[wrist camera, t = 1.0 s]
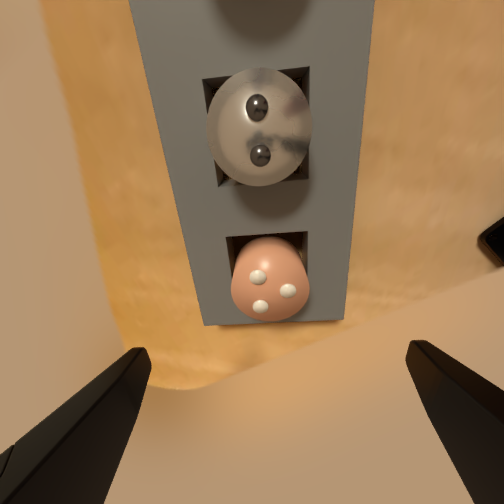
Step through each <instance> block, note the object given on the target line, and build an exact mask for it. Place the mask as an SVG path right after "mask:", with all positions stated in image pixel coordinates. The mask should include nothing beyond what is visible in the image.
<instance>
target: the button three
mask: <svg viewBox="0 0 504 504" xmlns="http://www.w3.org/2000/svg"><path fill="white" fill-rule="evenodd" d="M309 290H310V288H309V281H308V278H307V275H306V272H305V268H304V265H303V262H302V259H301V256H300V254H299V252H298V250H297V249H296V248H295V246H294V245H293V244H291V243H290V242H289V241H287V240H285V239H283V238H280V237H276V236H263V237H258V238H256V239H253V240H251V241H249V242H248V243H247V244H245V245H244V246H243V247H242V249H241V250H240V252H239V253H238V256H237V259H236V263H235V268H234V273H233V278H232V283H231V295H232V298H233V301H234V303H235V304H236V306H237V307H238V308H239V309H240V310H241V311H242V312H243V313H244V314H246V315H247V316H249V317H251V318H254V319H257V320H261V321H279V320H283V319H286V318H289V317H291V316H292V315H294V314H296V313H297V312H298V311H299V310H300V309H301V308H302V307H303V306H304V305H305V303H306V301H307V299H308V296H309Z"/></svg>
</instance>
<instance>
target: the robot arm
mask: <svg viewBox="0 0 504 504" xmlns="http://www.w3.org/2000/svg"><path fill="white" fill-rule="evenodd" d="M491 235H492V236H491ZM490 236H491V237H490ZM480 239H481V241H482V242H483V243H484V244H485V245H486V246H487V247H488V249H489V250H490V251H491V252H492V253H493V254H494V256H495V257H496V258H497V259H498V260H499V261H500V262H501V264H502V265H503V266H504V217H503V218H502V219H500V220H499V221H497V222H496V223H495V224H493V225H492V226H491V227H489V228H488V229H486V230H485V231H484V232H483V233H482V234H481V237H480ZM406 364H407V367H408V370H409V372H410V374H411V377H412V379H413V382H414V384H415V386H416V389H417V391H418V394H419V396H420V398H421V401H422V403H423V406H424V408H425V410H426V412H427V415H428V417H429V418H430V421H431V423H432V425H433V426H434V428H435V430H436V432H437V434H438V436H439V438H440V440H441V442H442V443H443V445H444V447H445V449H446V451H447V453H448V455H449V456H450V458H451V460H452V462H453V464H454V466H455V468H456V470H457V472H458V473H459V476H460V477H461V479H462V481H463V483H464V485H465V487H466V488H467V491H468V492H469V494H470V496H471V498H472V500H473V502H474V504H504V391H503V390H501V389H500V388H499V387H497V386H496V385H494V384H492V383H491V382H489V381H488V380H486V379H485V378H483V377H482V376H480V375H479V374H477V373H476V372H474V371H472V370H471V369H469V368H468V367H466V366H464V365H463V364H462V363H460V362H458V361H457V360H455V359H454V358H452V357H451V356H449V355H448V354H446V353H445V352H443V351H442V350H440V349H439V348H437V347H435V346H434V345H432V344H431V343H429V342H428V341H426V340H412V341H411V342H410V344H409V347H408V351H407V355H406ZM150 372H151V361H150V358H149V356H148V353H147V350H146V349H145V348H144V347H134V348H132V349H130V350H129V351H128V352H127V353H125V354H124V355H123V356H122V357H120V358H119V359H118V360H117V361H115V362H114V363H113V364H112V365H110V366H109V367H108V368H107V369H106V370H104V371H103V372H102V373H101V374H99V375H98V376H97V377H96V378H94V379H93V380H92V381H91V382H89V383H88V384H87V385H86V386H85V387H83V388H82V389H81V390H80V391H79V392H77V393H76V394H75V395H73V396H72V397H71V398H70V399H69V400H67V401H66V402H65V403H64V404H62V405H61V406H60V407H59V408H58V409H56V410H55V411H54V412H52V413H51V414H50V415H49V416H47V417H46V418H45V419H44V420H43V421H41V422H40V423H39V424H38V425H36V426H35V427H34V428H33V429H31V430H30V431H29V432H28V433H26V434H25V435H24V436H23V437H21V438H20V439H19V440H18V441H17V442H16V443H15V445H12V446H10V447H9V448H8V449H7V450H5V451H4V452H3V453H2V454H0V504H104V501H105V499H106V496H107V494H108V491H109V488H110V486H111V484H112V481H113V478H114V476H115V473H116V471H117V468H118V465H119V463H120V460H121V458H122V455H123V453H124V450H125V447H126V445H127V443H128V440H129V437H130V435H131V432H132V430H133V427H134V424H135V422H136V419H137V416H138V413H139V410H140V407H141V403H142V400H143V396H144V393H145V389H146V386H147V382H148V379H149V375H150Z"/></svg>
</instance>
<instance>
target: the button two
mask: <svg viewBox="0 0 504 504" xmlns="http://www.w3.org/2000/svg"><path fill="white" fill-rule="evenodd" d="M206 133H207V141H208V145H209V148H210V151H211V153H212V156H213V158H214V160H215V161H216V163H217V164H218V166H219V167H220V168H221V169H222V170H223V171H224V172H225V173H226V174H227V175H228V176H230V177H231V178H232V179H234V180H236V181H238V182H240V183H242V184H246V185H250V186H267V185H271V184H275V183H277V182H279V181H281V180H283V179H285V178H286V177H288V176H289V175H290V174H292V173H293V172H294V171H295V170H296V169H297V167H298V166H299V165H300V164H301V162H302V160H303V159H304V157H305V155H306V153H307V151H308V148H309V145H310V141H311V136H312V117H311V111H310V108H309V104H308V102H307V100H306V97H305V95H304V94H303V92H302V90H301V89H300V88H299V87H298V85H297V84H296V83H295V82H294V81H293V80H292V79H291V78H289V77H288V76H286V75H285V74H283V73H281V72H279V71H277V70H273V69H270V68H262V67H261V68H251V69H246V70H243V71H241V72H239V73H237V74H235V75H233V76H232V77H230V78H229V79H228V80H227V81H226V82H225V83H224V84H223V85H222V86H221V87H220V88H219V90H218V91H217V92H216V94H215V96H214V98H213V99H212V102H211V104H210V107H209V111H208V114H207V121H206Z"/></svg>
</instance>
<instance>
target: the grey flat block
mask: <svg viewBox="0 0 504 504" xmlns="http://www.w3.org/2000/svg"><path fill="white" fill-rule="evenodd" d="M374 2H375V0H129V4H130V8H131V13H132V17H133V21H134V26H135V30H136V34H137V39H138V43H139V47H140V52H141V56H142V60H143V65H144V69H145V73H146V77H147V82H148V86H149V90H150V95H151V99H152V103H153V108H154V112H155V116H156V121H157V125H158V129H159V134H160V138H161V142H162V146H163V151H164V155H165V159H166V164H167V168H168V172H169V177H170V181H171V185H172V190H173V194H174V198H175V203H176V207H177V211H178V216H179V220H180V224H181V228H182V233H183V237H184V241H185V246H186V250H187V254H188V259H189V263H190V267H191V272H192V276H193V280H194V285H195V289H196V293H197V297H198V302H199V306H200V310H201V315H202V319H203V323H204V326H210V325H232V324H254V323H276V322H299V321H321V320H343V319H344V311H345V300H346V290H347V280H348V270H349V259H350V249H351V239H352V228H353V218H354V208H355V197H356V187H357V177H358V166H359V156H360V146H361V136H362V125H363V115H364V105H365V94H366V84H367V74H368V63H369V53H370V43H371V33H372V22H373V12H374ZM261 67H262V68H270V69H273V70H277V71H279V72H281V73H283V74H285V75H286V76H288V77H289V78H291V79H292V78H301V77H302V92H303V94H304V95H305V97H306V100H307V102H308V104H309V108H310V111H311V117H312V136H311V141H310V145H309V148H308V151H307V153H306V155H305V157H304V159H303V160H302V173H296V174H290V175H289V176H288V177H286V178H285V179H283V180H281V181H279V182H277V183H275V184H271V185H267V186H250V185H246V184H242V183H240V182H238V181H236V180H234V179H228V180H224V176H223V170H222V169H221V168H220V167H219V166H218V164H217V163H216V161H215V160H214V158H213V156H212V153H211V151H210V148H209V145H208V141H207V133H206V121H207V114H208V111H209V107H210V104H211V102H212V99H213V96H212V88H215V87H221V86H222V85H223V84H224V83H225V82H226V81H227V80H228V79H229V78H230V77H232V76H233V75H235V74H237V73H239V72H241V71H243V70H246V69H251V68H261ZM299 231H302V262H303V265H304V268H305V272H306V275H307V278H308V281H309V288H310V290H309V296H308V299H307V301H306V303H305V305H304V306H303V307H302V308H301V309H300V310H299V311H298V312H297V313H296V314H294V315H292V316H291V317H289V318H286V319H283V320H279V321H261V320H257V319H254V318H251V317H249V316H247V315H246V314H244V313H243V312H242V311H241V310H240V309H239V308H238V307H237V306H236V304H235V303H234V301H233V298H232V295H231V283H232V278H233V273H234V268H235V256H234V249H233V242H232V236H243V235H257V234H271V233H285V232H299Z"/></svg>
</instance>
